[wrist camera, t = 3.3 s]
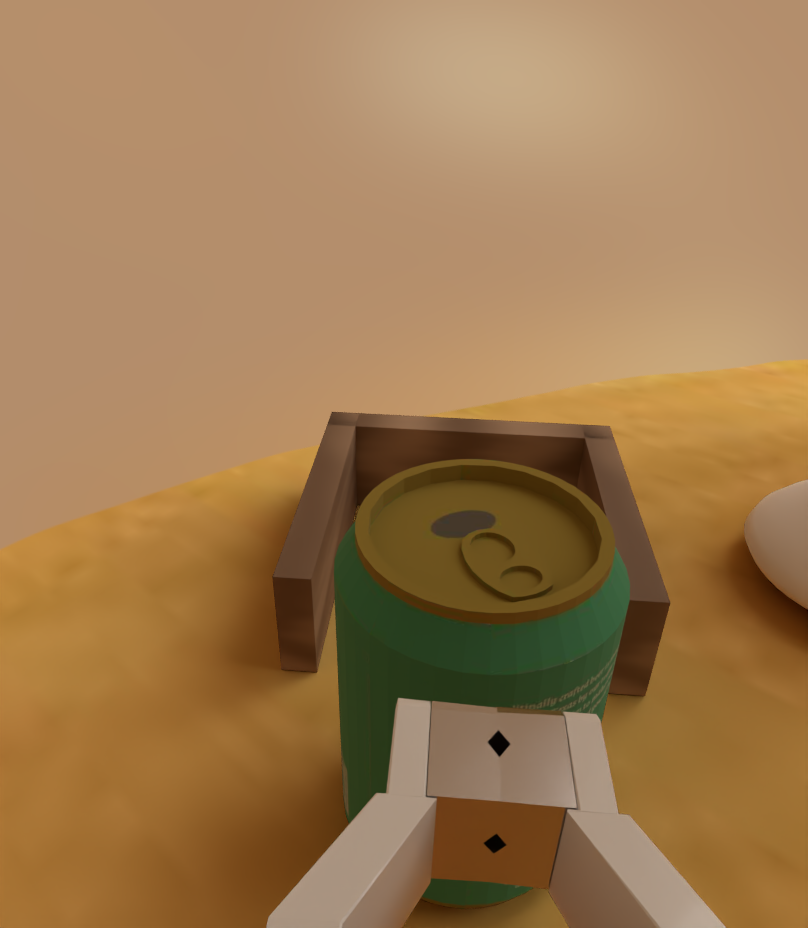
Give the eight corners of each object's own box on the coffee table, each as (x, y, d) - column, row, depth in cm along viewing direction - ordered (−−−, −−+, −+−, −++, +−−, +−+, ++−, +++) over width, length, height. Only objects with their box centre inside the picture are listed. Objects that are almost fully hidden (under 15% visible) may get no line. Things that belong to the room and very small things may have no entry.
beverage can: (497, 686, 30) (527, 430, 24) (624, 859, 24) (709, 573, 18) (312, 755, 27) (291, 482, 21) (403, 972, 21) (412, 677, 15)
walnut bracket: (595, 503, 42) (609, 426, 39) (645, 695, 30) (670, 602, 27) (334, 488, 43) (332, 411, 40) (281, 669, 31) (272, 577, 28)
